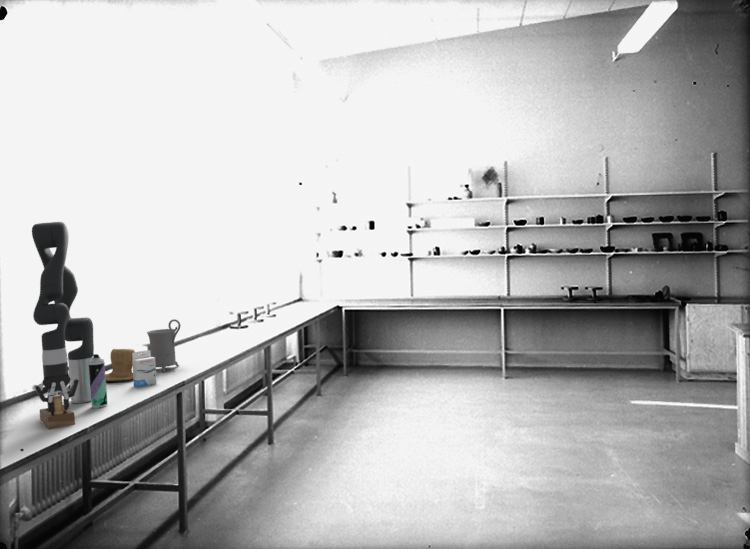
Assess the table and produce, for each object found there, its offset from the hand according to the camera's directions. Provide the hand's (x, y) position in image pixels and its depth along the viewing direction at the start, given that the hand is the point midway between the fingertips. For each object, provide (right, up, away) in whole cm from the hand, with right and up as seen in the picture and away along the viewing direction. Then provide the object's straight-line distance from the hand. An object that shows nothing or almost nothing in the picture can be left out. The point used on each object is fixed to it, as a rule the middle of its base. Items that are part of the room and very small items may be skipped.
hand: (58, 411), depth 203 cm
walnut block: (-2, -5, +3) cm, 6 cm away
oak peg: (0, -5, 0) cm, 5 cm away
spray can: (+3, -4, +24) cm, 24 cm away
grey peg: (-5, -5, +6) cm, 9 cm away
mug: (+4, -1, +92) cm, 92 cm away
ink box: (+7, -2, +58) cm, 59 cm away
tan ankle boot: (-9, -2, +70) cm, 71 cm away
